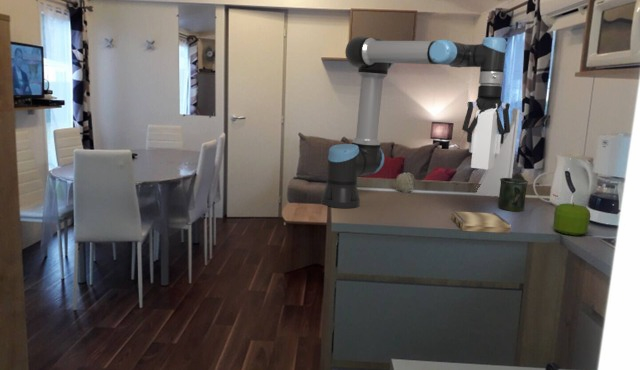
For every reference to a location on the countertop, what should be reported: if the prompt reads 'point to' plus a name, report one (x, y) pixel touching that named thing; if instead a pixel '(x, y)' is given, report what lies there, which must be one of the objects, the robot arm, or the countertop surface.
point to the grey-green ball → (405, 182)
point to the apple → (571, 219)
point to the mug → (512, 194)
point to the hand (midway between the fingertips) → (483, 152)
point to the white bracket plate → (501, 161)
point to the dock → (480, 222)
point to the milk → (485, 140)
